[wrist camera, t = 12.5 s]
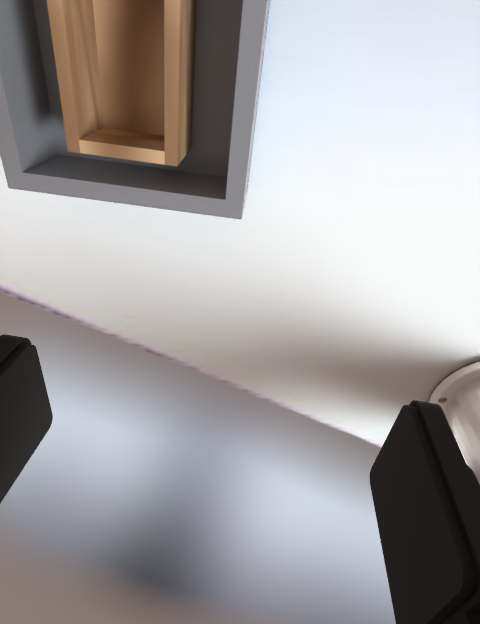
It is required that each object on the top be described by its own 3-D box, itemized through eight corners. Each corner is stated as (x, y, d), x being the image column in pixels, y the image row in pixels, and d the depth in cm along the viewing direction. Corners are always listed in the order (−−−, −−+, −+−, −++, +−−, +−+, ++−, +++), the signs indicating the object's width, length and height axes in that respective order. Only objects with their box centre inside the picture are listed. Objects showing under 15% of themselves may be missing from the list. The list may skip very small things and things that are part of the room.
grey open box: (280, -89, 22) (281, -127, 17) (246, 191, 31) (241, 219, 26) (0, -126, 22) (-80, -175, 17) (51, 165, 31) (8, 188, 26)
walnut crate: (197, -30, 23) (180, -46, 19) (191, 148, 28) (176, 166, 24) (80, -46, 23) (37, -66, 19) (97, 135, 28) (67, 151, 24)
